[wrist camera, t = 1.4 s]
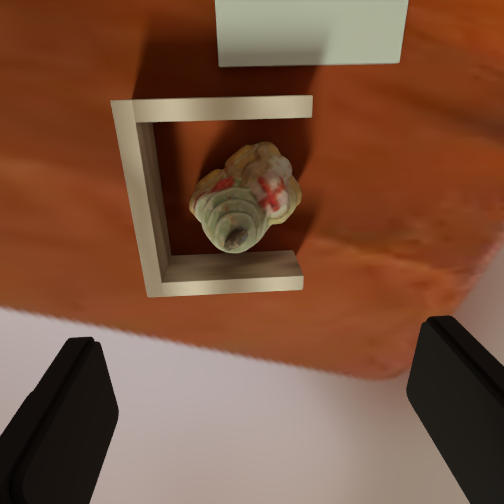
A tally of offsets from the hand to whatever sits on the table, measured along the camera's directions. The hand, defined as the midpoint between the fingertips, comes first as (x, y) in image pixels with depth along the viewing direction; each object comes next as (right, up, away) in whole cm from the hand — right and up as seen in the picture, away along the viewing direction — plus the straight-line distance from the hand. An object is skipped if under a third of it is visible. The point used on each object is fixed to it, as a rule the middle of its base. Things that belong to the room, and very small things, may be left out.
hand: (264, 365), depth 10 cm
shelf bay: (-3, +8, +16) cm, 19 cm away
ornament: (-1, +8, +17) cm, 19 cm away
